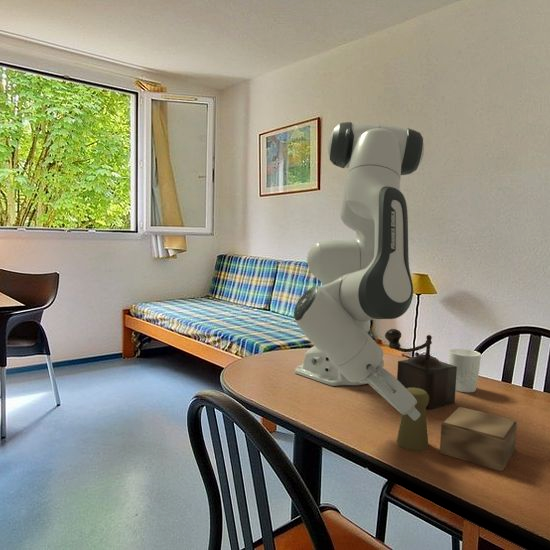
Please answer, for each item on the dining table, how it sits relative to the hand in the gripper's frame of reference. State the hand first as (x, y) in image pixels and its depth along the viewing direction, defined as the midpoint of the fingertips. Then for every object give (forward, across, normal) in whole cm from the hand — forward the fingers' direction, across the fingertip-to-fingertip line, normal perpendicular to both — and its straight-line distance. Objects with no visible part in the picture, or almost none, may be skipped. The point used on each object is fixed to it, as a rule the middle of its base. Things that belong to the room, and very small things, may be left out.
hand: (405, 407), depth 93 cm
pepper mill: (+15, +23, -4) cm, 27 cm away
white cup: (+27, +31, -16) cm, 44 cm away
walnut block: (+15, -4, -4) cm, 16 cm away
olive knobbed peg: (+7, 0, +4) cm, 8 cm away
